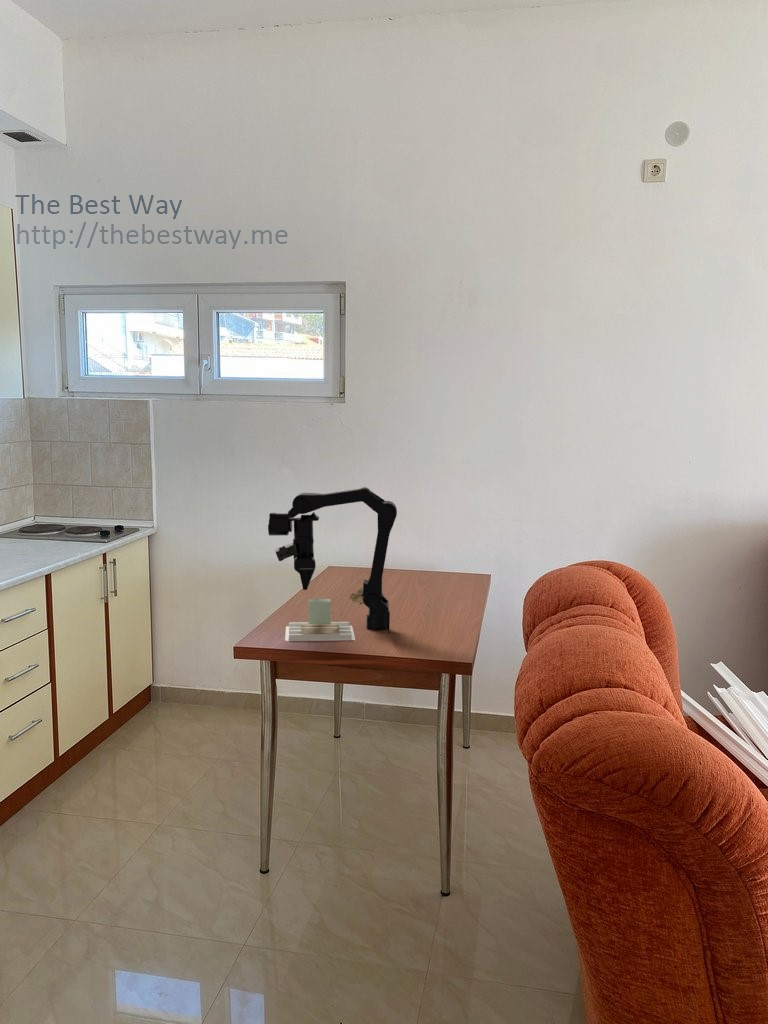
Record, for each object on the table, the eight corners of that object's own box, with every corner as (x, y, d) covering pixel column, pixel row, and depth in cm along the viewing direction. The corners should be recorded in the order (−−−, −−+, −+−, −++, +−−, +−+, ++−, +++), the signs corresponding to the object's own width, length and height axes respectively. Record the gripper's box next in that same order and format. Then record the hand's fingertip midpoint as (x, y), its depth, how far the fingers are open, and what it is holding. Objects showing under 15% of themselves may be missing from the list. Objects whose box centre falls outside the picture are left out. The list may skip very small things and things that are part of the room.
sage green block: (330, 628, 236) (330, 599, 235) (330, 630, 234) (330, 601, 232) (308, 628, 236) (308, 599, 235) (308, 631, 233) (308, 601, 232)
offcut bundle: (338, 635, 229) (339, 624, 228) (339, 638, 226) (339, 626, 226) (300, 636, 228) (301, 624, 227) (301, 639, 225) (301, 627, 224)
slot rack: (351, 628, 240) (351, 620, 239) (355, 643, 225) (355, 635, 225) (286, 629, 238) (286, 621, 237) (285, 644, 223) (285, 635, 223)
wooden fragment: (362, 587, 296) (362, 584, 296) (390, 589, 293) (390, 587, 293) (340, 603, 272) (340, 600, 272) (370, 606, 269) (370, 603, 269)
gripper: (276, 531, 243) (278, 580, 245) (276, 541, 224) (277, 594, 226) (312, 530, 244) (313, 579, 246) (315, 540, 226) (316, 593, 228)
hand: (304, 586), depth 237 cm, fingers open, 9 cm apart
